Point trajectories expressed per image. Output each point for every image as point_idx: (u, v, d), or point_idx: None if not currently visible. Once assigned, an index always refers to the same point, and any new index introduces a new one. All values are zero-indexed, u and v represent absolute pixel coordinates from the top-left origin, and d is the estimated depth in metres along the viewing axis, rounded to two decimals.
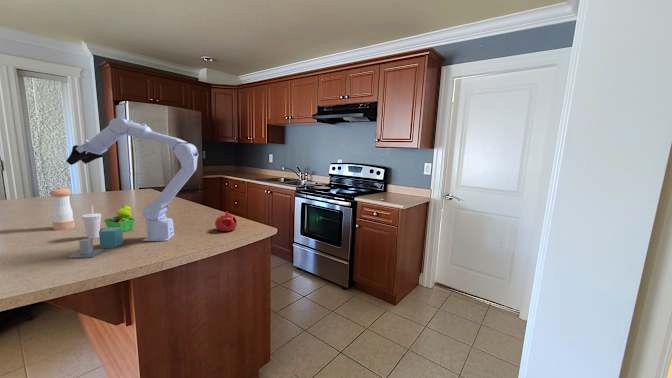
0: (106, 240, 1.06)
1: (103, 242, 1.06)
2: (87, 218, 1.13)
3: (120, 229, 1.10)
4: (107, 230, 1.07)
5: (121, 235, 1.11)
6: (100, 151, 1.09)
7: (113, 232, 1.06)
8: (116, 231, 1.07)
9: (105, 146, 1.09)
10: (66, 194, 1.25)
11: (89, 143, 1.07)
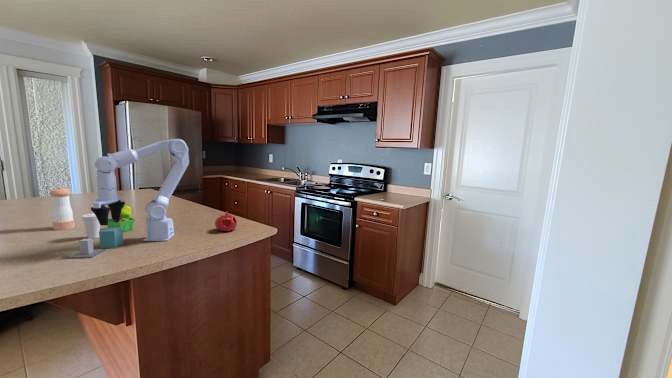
0: (106, 240, 1.06)
1: (103, 242, 1.06)
2: (87, 218, 1.13)
3: (120, 229, 1.10)
4: (107, 230, 1.07)
5: (121, 235, 1.11)
6: (114, 197, 1.06)
7: (113, 232, 1.06)
8: (116, 231, 1.07)
9: (112, 190, 1.05)
10: (66, 194, 1.25)
11: (99, 198, 1.03)
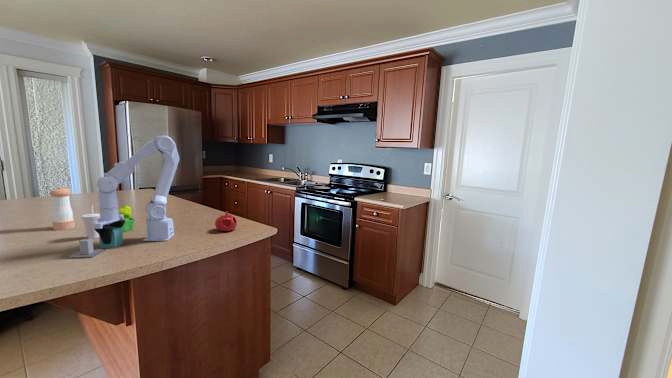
0: None
1: None
2: (87, 218, 1.13)
3: (120, 229, 1.10)
4: None
5: (121, 235, 1.11)
6: (116, 217, 1.07)
7: (113, 232, 1.06)
8: (116, 231, 1.07)
9: (114, 209, 1.06)
10: (66, 194, 1.25)
11: (101, 218, 1.05)
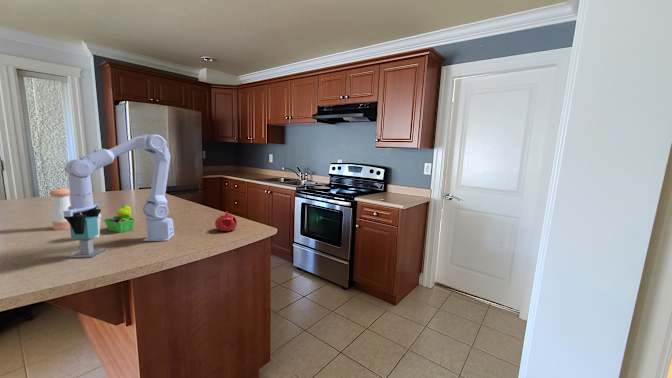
0: None
1: None
2: None
3: (94, 218, 1.00)
4: None
5: (96, 225, 1.00)
6: (89, 204, 0.97)
7: (85, 221, 0.96)
8: (89, 220, 0.97)
9: (87, 196, 0.96)
10: (66, 194, 1.25)
11: (72, 205, 0.94)
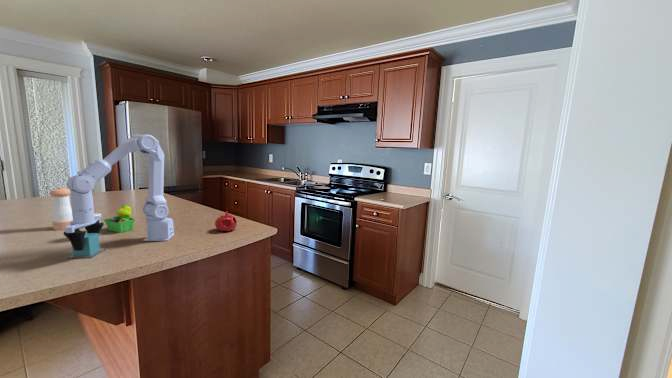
0: None
1: None
2: None
3: (96, 235, 1.01)
4: None
5: (97, 241, 1.01)
6: (90, 219, 0.97)
7: (87, 239, 0.97)
8: (91, 237, 0.98)
9: (88, 212, 0.97)
10: (66, 194, 1.25)
11: (74, 221, 0.95)
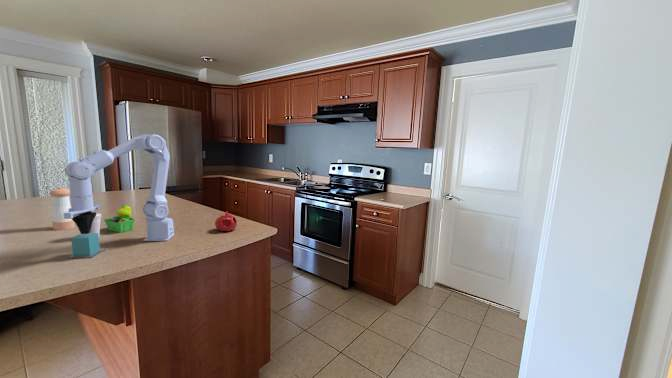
0: (79, 247, 0.97)
1: (76, 250, 0.96)
2: None
3: (96, 235, 1.01)
4: (81, 236, 0.97)
5: (97, 241, 1.01)
6: (89, 206, 0.97)
7: (87, 239, 0.97)
8: (91, 237, 0.98)
9: (87, 198, 0.96)
10: (66, 194, 1.25)
11: (73, 207, 0.94)
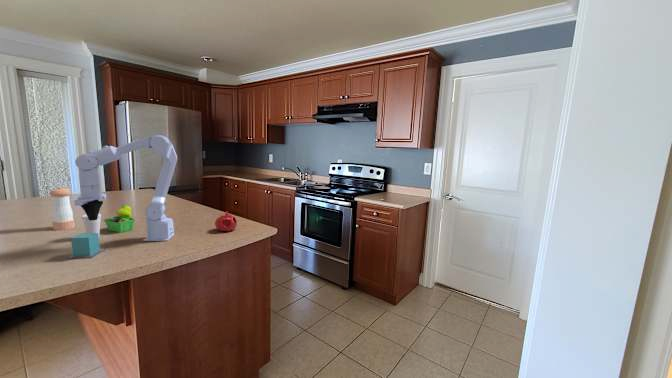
0: (79, 247, 0.97)
1: (76, 250, 0.96)
2: (87, 218, 1.13)
3: (96, 235, 1.01)
4: (81, 236, 0.97)
5: (97, 241, 1.01)
6: (97, 195, 1.06)
7: (87, 239, 0.97)
8: (91, 237, 0.98)
9: (95, 187, 1.06)
10: (66, 194, 1.25)
11: (82, 195, 1.04)
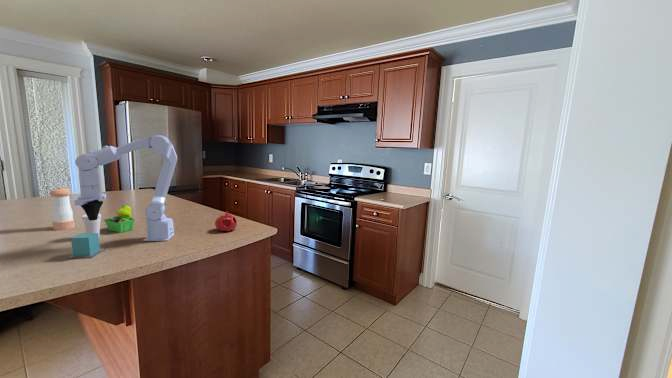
0: (79, 247, 0.97)
1: (76, 250, 0.96)
2: (87, 218, 1.13)
3: (96, 235, 1.01)
4: (81, 236, 0.97)
5: (97, 241, 1.01)
6: (97, 195, 1.06)
7: (87, 239, 0.97)
8: (91, 237, 0.98)
9: (95, 187, 1.06)
10: (66, 194, 1.25)
11: (82, 195, 1.04)
